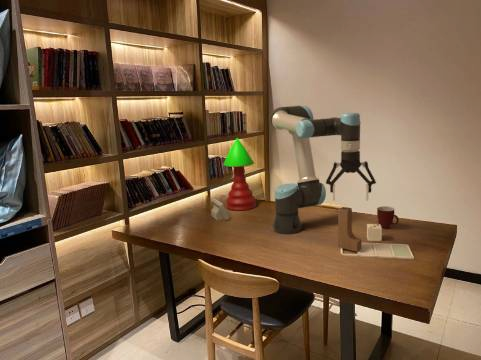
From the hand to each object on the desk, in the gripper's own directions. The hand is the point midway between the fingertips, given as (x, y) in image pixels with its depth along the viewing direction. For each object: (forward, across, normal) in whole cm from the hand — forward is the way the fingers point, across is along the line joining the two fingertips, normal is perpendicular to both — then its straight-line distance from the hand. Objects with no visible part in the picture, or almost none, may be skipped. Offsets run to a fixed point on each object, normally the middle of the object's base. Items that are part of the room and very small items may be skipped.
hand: (350, 199), depth 156 cm
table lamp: (+22, -66, +63) cm, 94 cm away
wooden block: (+22, 0, 0) cm, 22 cm away
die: (+23, +11, +15) cm, 29 cm away
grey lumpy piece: (+23, -72, +40) cm, 86 cm away
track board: (+23, +10, 0) cm, 25 cm away
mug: (+23, +19, +30) cm, 42 cm away
